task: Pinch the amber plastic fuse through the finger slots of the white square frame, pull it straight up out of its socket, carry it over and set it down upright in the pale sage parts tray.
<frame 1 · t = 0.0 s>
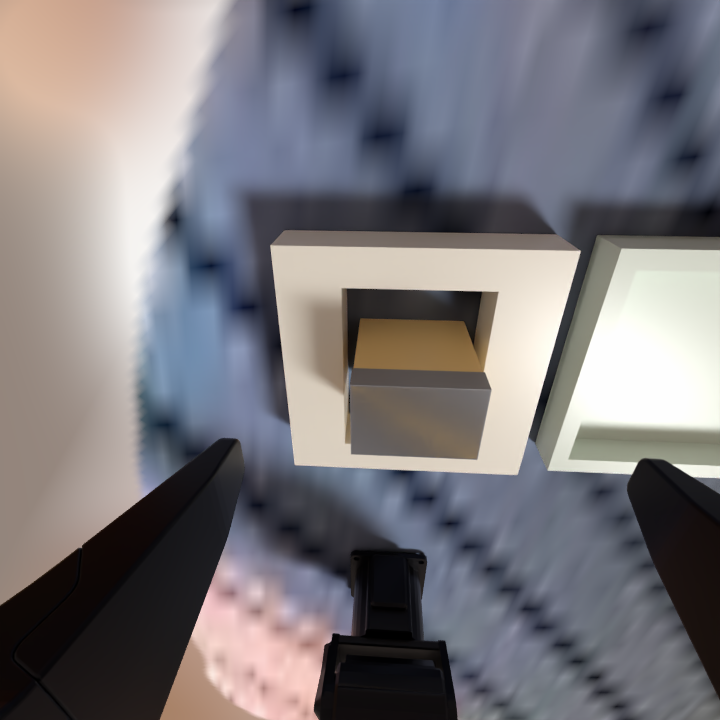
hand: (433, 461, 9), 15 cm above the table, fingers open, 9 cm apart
parts tray: (692, 358, 24), on the table
white square frame: (409, 350, 24), on the table
fuse: (409, 349, 25), resting in white square frame
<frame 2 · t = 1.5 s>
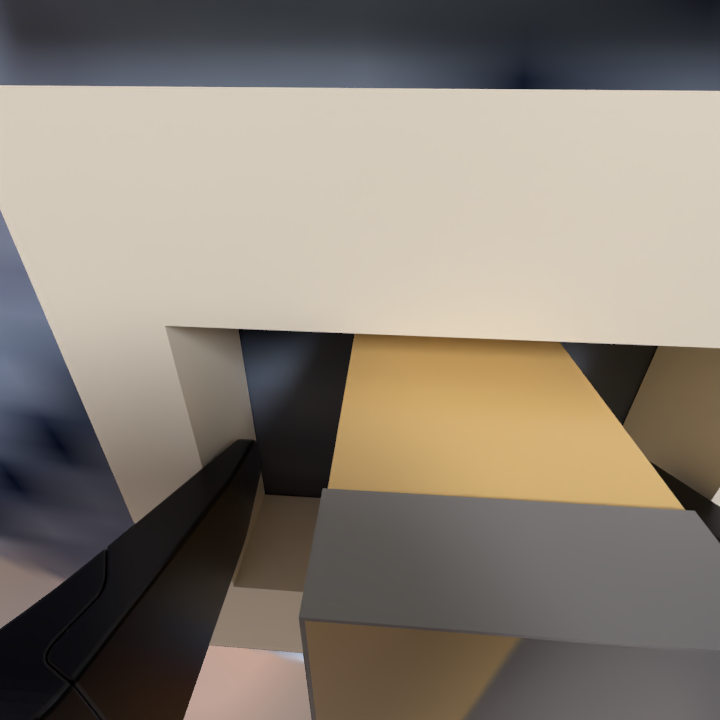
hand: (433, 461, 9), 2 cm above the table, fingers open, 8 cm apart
white square frame: (433, 410, 11), on the table
fuse: (432, 408, 11), resting in white square frame
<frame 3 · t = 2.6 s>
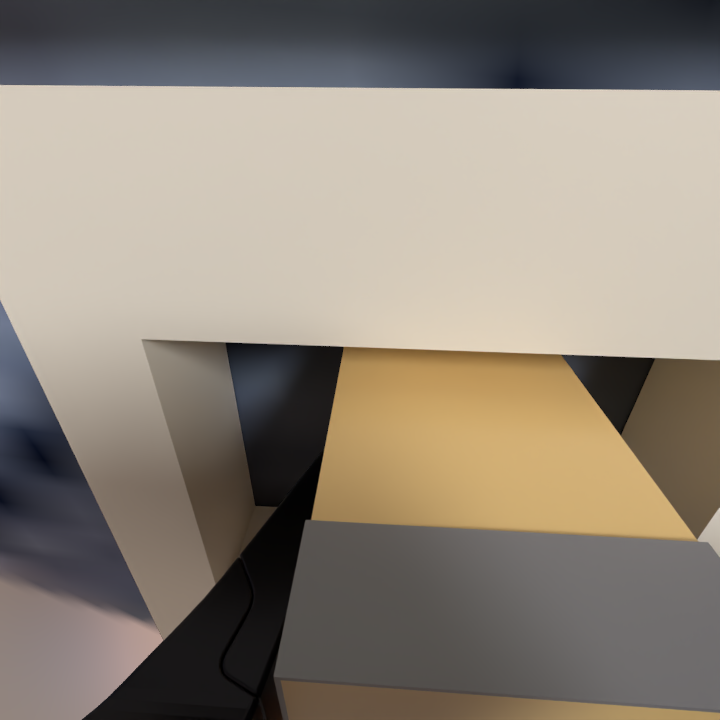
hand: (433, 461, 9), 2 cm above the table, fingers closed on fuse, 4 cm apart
white square frame: (426, 419, 11), on the table
fuse: (427, 418, 11), resting in white square frame, touching gripper
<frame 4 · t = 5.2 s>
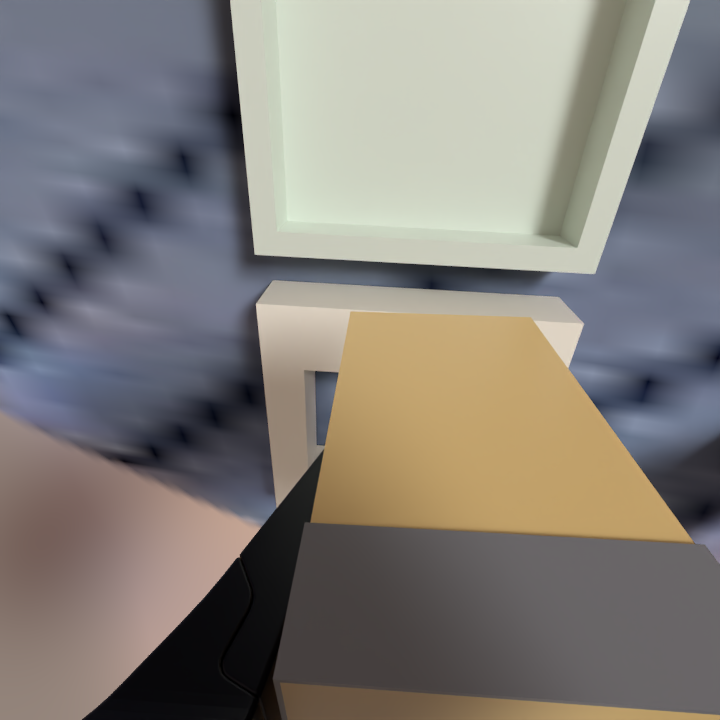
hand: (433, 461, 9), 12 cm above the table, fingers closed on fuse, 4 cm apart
parts tray: (441, 45, 15), on the table
white square frame: (401, 402, 23), on the table
fuse: (427, 419, 11), point 11 cm above the table, touching gripper
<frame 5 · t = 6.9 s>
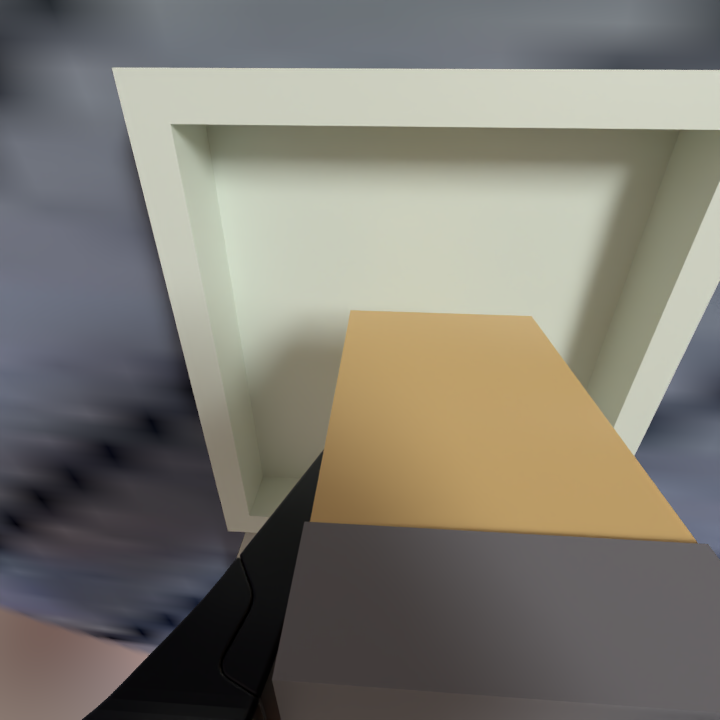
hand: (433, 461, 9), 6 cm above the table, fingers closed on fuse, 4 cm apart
parts tray: (415, 341, 14), on the table
fuse: (427, 418, 11), point 4 cm above the table, touching gripper
when the fingers open (3 cm above the table, at t = 8.1 s): fuse drops 1 cm, resting on parts tray.
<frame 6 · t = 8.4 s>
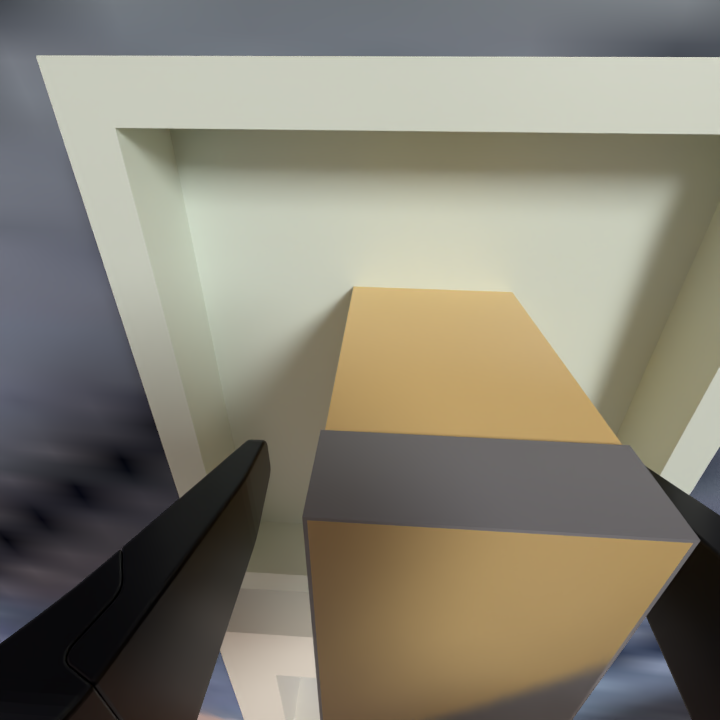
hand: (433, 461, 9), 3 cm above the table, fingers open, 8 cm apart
parts tray: (421, 376, 12), on the table
white square frame: (393, 646, 21), on the table
fuse: (421, 386, 12), resting on parts tray
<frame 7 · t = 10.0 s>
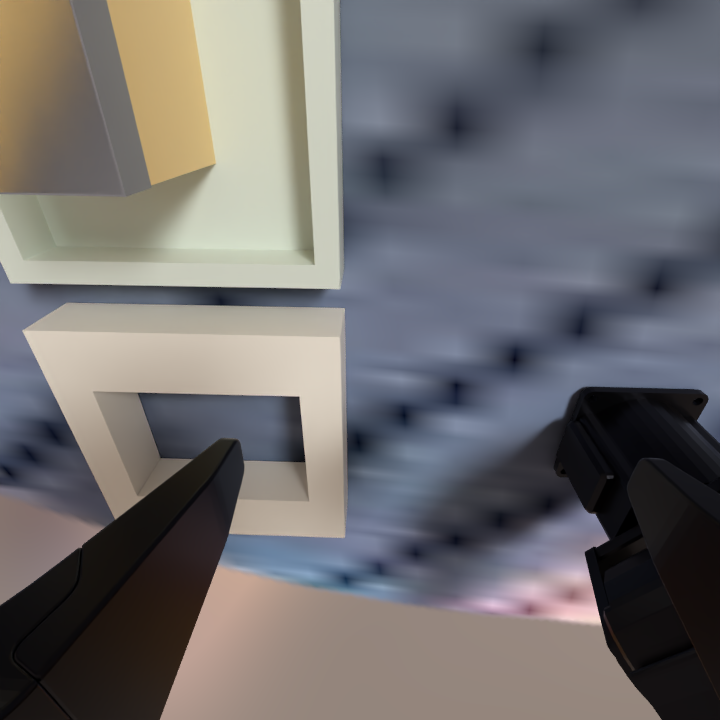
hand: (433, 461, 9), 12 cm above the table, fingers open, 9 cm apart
parts tray: (154, 71, 15), on the table
white square frame: (228, 414, 24), on the table
fuse: (147, 71, 15), resting on parts tray
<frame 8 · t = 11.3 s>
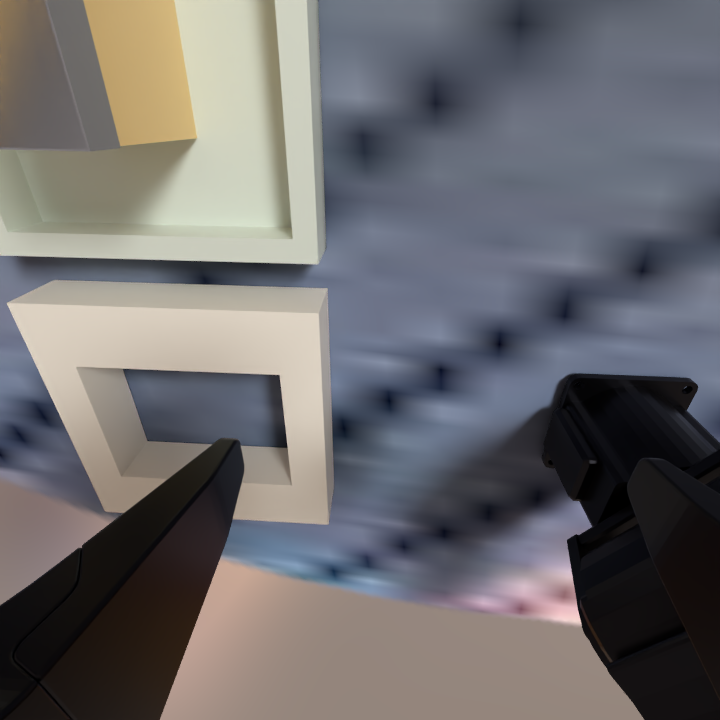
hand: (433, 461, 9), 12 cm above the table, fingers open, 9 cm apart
parts tray: (136, 46, 15), on the table
white square frame: (213, 397, 24), on the table
fuse: (128, 44, 15), resting on parts tray
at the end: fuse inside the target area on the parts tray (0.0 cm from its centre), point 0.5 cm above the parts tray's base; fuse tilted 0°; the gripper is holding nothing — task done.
